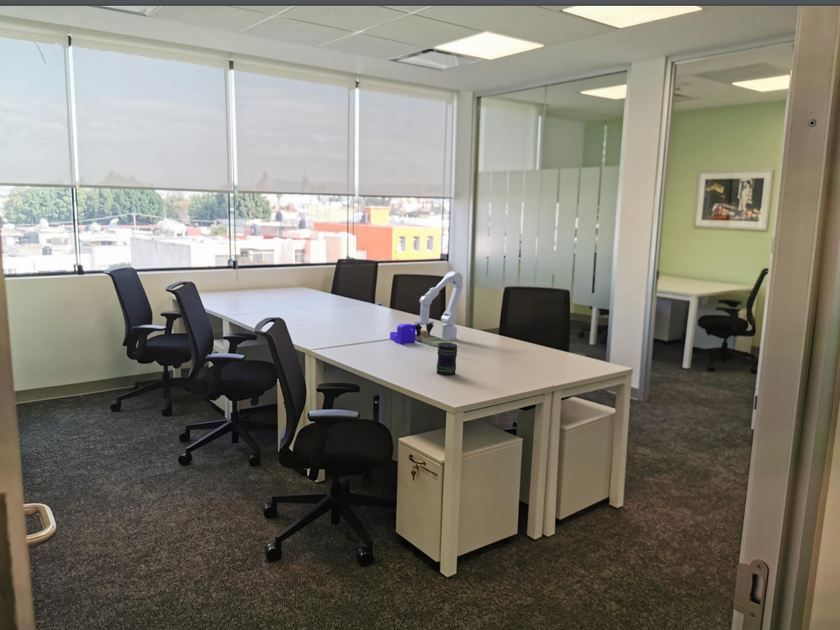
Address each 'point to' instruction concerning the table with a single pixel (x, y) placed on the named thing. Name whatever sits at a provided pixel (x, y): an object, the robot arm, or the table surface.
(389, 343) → the table surface
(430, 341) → the olive bin
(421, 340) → the charcoal bin
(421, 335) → the oak block
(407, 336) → the bracket
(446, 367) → the storage jar
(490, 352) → the table surface
